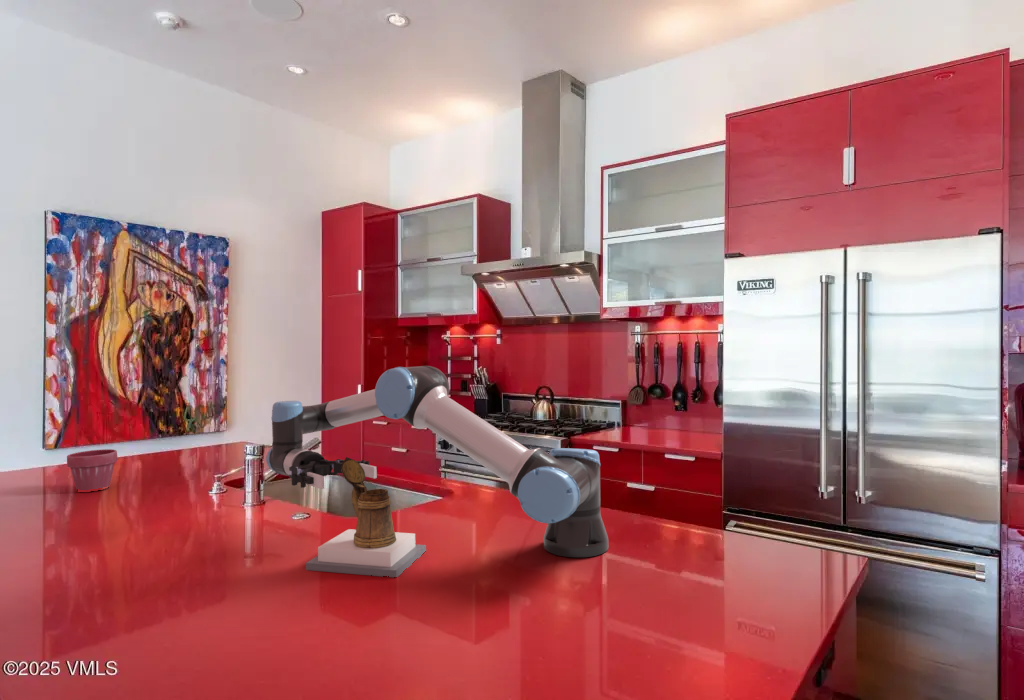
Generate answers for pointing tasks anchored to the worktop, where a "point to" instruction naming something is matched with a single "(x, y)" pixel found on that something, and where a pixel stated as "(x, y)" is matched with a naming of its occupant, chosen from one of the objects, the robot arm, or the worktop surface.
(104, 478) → the plant pot
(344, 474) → the wooden mug
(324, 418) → the robot arm
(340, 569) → the plate
